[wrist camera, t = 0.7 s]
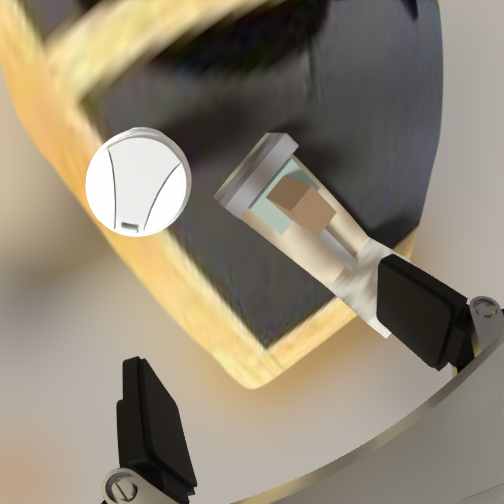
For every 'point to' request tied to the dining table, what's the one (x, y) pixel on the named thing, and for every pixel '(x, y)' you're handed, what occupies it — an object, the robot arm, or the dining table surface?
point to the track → (303, 238)
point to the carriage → (292, 201)
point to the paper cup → (138, 182)
